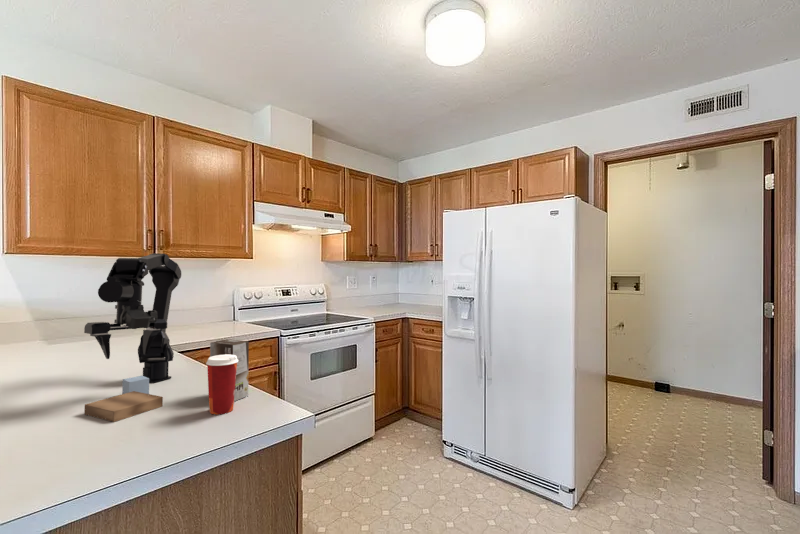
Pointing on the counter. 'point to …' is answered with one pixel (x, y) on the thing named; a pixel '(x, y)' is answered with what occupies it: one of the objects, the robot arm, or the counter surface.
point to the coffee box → (242, 365)
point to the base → (123, 406)
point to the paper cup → (221, 383)
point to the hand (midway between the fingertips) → (127, 356)
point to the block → (136, 385)
